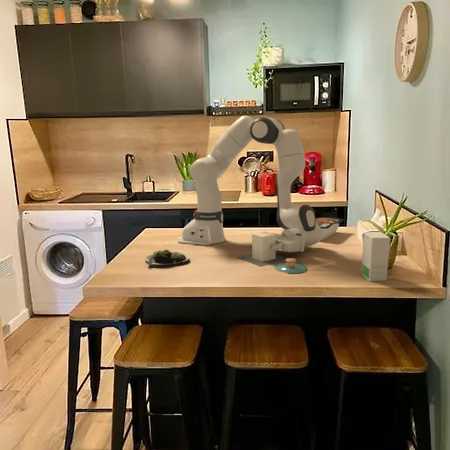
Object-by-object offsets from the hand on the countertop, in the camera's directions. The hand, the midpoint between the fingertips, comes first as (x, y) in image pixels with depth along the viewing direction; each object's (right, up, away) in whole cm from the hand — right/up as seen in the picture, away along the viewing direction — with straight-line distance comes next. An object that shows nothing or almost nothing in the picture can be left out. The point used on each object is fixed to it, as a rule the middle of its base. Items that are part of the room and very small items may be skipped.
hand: (264, 244), depth 189 cm
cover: (0, -5, +1) cm, 6 cm away
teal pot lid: (+9, -8, -12) cm, 17 cm away
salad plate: (-39, -7, +1) cm, 40 cm away
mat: (0, -6, +1) cm, 6 cm away
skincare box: (+37, -11, -23) cm, 45 cm away
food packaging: (+27, +3, +41) cm, 49 cm away
